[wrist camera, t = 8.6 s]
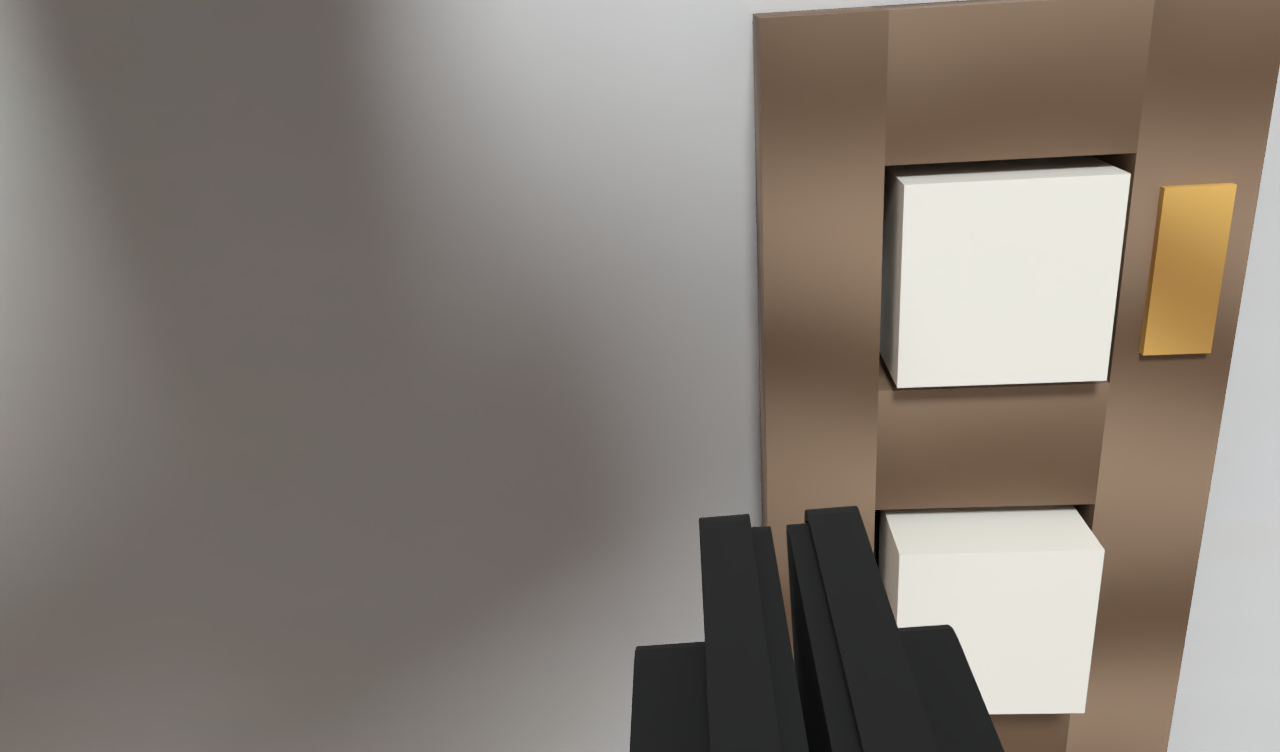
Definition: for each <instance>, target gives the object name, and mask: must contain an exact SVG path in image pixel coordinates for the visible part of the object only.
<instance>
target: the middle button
mask: <svg viewBox="0 0 1280 752" xmlns="http://www.w3.org/2000/svg"><path fill="white" fill-rule="evenodd" d="M1104 553H1105V550H1104V548H1103V547H1102V545H1101V544H1100V543H1099V541H1098V540H1097V538H1096V537H1095V535H1094V534H1093V533H1092V531H1091V530H1090V528H1089V527H1088V526H1087V524H1086V523H1085V521H1084V520H1083V519H1082V517H1081V516H1080V514H1079V513H1078V512H1077V510H1076V509H1075V507H1074V506H1073V505H1039V506H1001V507H964V508H927V509H889V510H880V534H879V567H878V569H879V572H880V575H881V578H882V581H883V584H884V587H885V590H886V593H887V596H888V599H889V602H890V606H891V609H892V612H893V615H894V618H895V621H896V624H897V627H898V628H905V627H919V626H933V625H947V624H948V625H950V626H951V627H952V628H953V629H954V631H955V633H956V635H957V637H958V639H959V642H960V644H961V647H962V649H963V651H964V654H965V656H966V659H967V661H968V664H969V666H970V669H971V671H972V673H973V676H974V678H975V681H976V683H977V686H978V688H979V691H980V693H981V695H982V698H983V700H984V703H985V705H986V708H987V710H988V713H989V714H1059V713H1085V705H1086V697H1087V689H1088V681H1089V673H1090V665H1091V657H1092V649H1093V641H1094V633H1095V625H1096V617H1097V609H1098V601H1099V593H1100V585H1101V577H1102V569H1103V561H1104Z"/></svg>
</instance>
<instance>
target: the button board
mask: <svg viewBox="0 0 1280 752" xmlns="http://www.w3.org/2000/svg"><path fill="white" fill-rule="evenodd" d="M753 44H754V99H755V153H756V207H757V262H758V316H759V370H760V425H761V479H762V527H763V526H771V530H772V536H773V542H774V548H775V554H776V560H777V566H778V572H779V578H780V583H781V589H782V595H783V601H784V607H785V613H786V619H787V625H788V631H789V636H790V642H791V648H792V654H793V660H794V652H793V635H792V619H791V602H790V586H789V569H788V553H787V535H786V526H787V525H789V524H802V523H805V521H804V517H805V510H806V509H819V508H832V507H844V506H857V507H858V509H859V511H860V514H861V517H862V520H863V523H864V526H865V529H866V532H867V535H868V538H869V542H870V545H871V548H872V551H873V554H874V529H875V510H889V509H927V508H964V507H1001V506H1039V505H1073V506H1074V507H1075V509H1076V510H1077V512H1078V513H1079V514H1080V516H1081V517H1082V519H1083V520H1084V521H1085V523H1086V524H1087V526H1088V527H1089V528H1090V530H1091V531H1092V533H1093V534H1094V535H1095V537H1096V538H1097V540H1098V541H1099V543H1100V544H1101V545H1102V547H1103V548H1104V550H1105V553H1104V561H1103V569H1102V577H1101V585H1100V593H1099V601H1098V609H1097V617H1096V625H1095V633H1094V641H1093V649H1092V657H1091V665H1090V673H1089V681H1088V689H1087V697H1086V705H1085V713H1059V714H989V715H990V717H991V720H992V722H993V725H994V727H995V730H996V732H997V735H998V737H999V739H1000V742H1001V744H1002V747H1003V749H1004V752H1167V747H1168V741H1169V734H1170V728H1171V722H1172V716H1173V710H1174V704H1175V698H1176V692H1177V686H1178V680H1179V674H1180V668H1181V662H1182V655H1183V649H1184V643H1185V637H1186V631H1187V625H1188V619H1189V613H1190V607H1191V601H1192V595H1193V589H1194V582H1195V576H1196V570H1197V564H1198V558H1199V552H1200V546H1201V540H1202V534H1203V528H1204V522H1205V516H1206V510H1207V503H1208V497H1209V491H1210V485H1211V479H1212V473H1213V467H1214V461H1215V455H1216V449H1217V443H1218V437H1219V430H1220V424H1221V418H1222V412H1223V406H1224V400H1225V394H1226V388H1227V382H1228V376H1229V370H1230V364H1231V357H1232V351H1233V345H1234V339H1235V333H1236V327H1237V321H1238V315H1239V309H1240V303H1241V297H1242V291H1243V285H1244V278H1245V272H1246V266H1247V260H1248V254H1249V248H1250V242H1251V236H1252V230H1253V224H1254V218H1255V212H1256V205H1257V199H1258V193H1259V187H1260V181H1261V175H1262V169H1263V163H1264V157H1265V151H1266V145H1267V139H1268V132H1269V126H1270V120H1271V114H1272V108H1273V102H1274V96H1275V90H1276V84H1277V78H1278V72H1279V66H1280V0H967V1H951V2H935V3H919V4H903V5H887V6H871V7H855V8H839V9H823V10H807V11H790V12H774V13H758V14H753ZM1086 155H1091V156H1093V157H1095V158H1097V159H1100V160H1102V161H1104V162H1106V163H1108V164H1111V165H1113V166H1115V167H1117V168H1119V169H1122V170H1124V171H1126V172H1128V173H1130V174H1131V177H1130V186H1129V194H1128V203H1127V211H1126V220H1125V228H1124V237H1123V246H1122V254H1121V263H1120V271H1119V280H1118V288H1117V297H1116V305H1115V314H1114V322H1113V331H1112V339H1111V348H1110V356H1109V365H1108V374H1107V381H1083V382H1054V383H1026V384H998V385H969V386H941V387H912V388H897V387H896V385H895V383H894V381H893V378H892V376H891V374H890V372H889V370H888V368H887V366H886V364H885V362H884V360H883V358H882V356H881V354H880V352H879V351H880V316H881V280H882V244H883V209H884V173H885V166H890V165H910V164H929V163H949V162H969V161H988V160H1008V159H1028V158H1047V157H1067V156H1086Z"/></svg>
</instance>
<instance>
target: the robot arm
mask: <svg viewBox="0 0 1280 752" xmlns="http://www.w3.org/2000/svg"><path fill="white" fill-rule="evenodd" d="M804 521H805V523H802V524H789V525H787V526H786V535H787V553H788V569H789V586H790V602H791V619H792V635H793V652H794V660H793V654H792V648H791V642H790V636H789V631H788V625H787V619H786V613H785V607H784V601H783V595H782V589H781V583H780V578H779V572H778V566H777V560H776V554H775V548H774V542H773V536H772V530H771V526H763V527H751V523H750V516H749V514H743V515H731V516H718V517H706V518H699V530H700V550H701V570H702V591H703V611H704V631H705V642H693V643H679V644H665V645H651V646H637V647H636V650H635V659H634V677H633V697H632V717H631V737H630V752H1004V749H1003V747H1002V744H1001V742H1000V739H999V737H998V735H997V732H996V730H995V727H994V725H993V722H992V720H991V717H990V715H989V713H988V710H987V708H986V705H985V703H984V700H983V698H982V695H981V693H980V691H979V688H978V686H977V683H976V681H975V678H974V676H973V673H972V671H971V669H970V666H969V664H968V661H967V659H966V656H965V654H964V651H963V649H962V647H961V644H960V642H959V639H958V637H957V635H956V633H955V631H954V629H953V628H952V627H951V626H950V625H948V624H947V625H933V626H919V627H905V628H898V627H897V624H896V621H895V618H894V615H893V612H892V609H891V606H890V602H889V599H888V596H887V593H886V590H885V587H884V584H883V581H882V578H881V575H880V572H879V569H878V566H877V563H876V560H875V557H874V554H873V551H872V548H871V545H870V542H869V538H868V535H867V532H866V529H865V526H864V523H863V520H862V517H861V514H860V511H859V509H858V507H857V506H844V507H832V508H819V509H806V510H805V517H804Z"/></svg>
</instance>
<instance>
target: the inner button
mask: <svg viewBox="0 0 1280 752" xmlns="http://www.w3.org/2000/svg"><path fill="white" fill-rule="evenodd" d="M1130 177H1131V174H1130V173H1128V172H1126V171H1124V170H1122V169H1119V168H1117V167H1115V166H1113V165H1111V164H1108V163H1106V162H1104V161H1102V160H1100V159H1097V158H1095V157H1093V156H1091V155H1086V156H1067V157H1047V158H1028V159H1008V160H988V161H969V162H949V163H929V164H910V165H890V166H885V173H884V209H883V244H882V280H881V316H880V351H879V352H880V354H881V356H882V358H883V360H884V362H885V364H886V366H887V368H888V370H889V372H890V374H891V376H892V378H893V381H894V383H895V385H896V387H897V388H912V387H941V386H969V385H998V384H1026V383H1054V382H1083V381H1107V374H1108V365H1109V356H1110V348H1111V339H1112V331H1113V322H1114V314H1115V305H1116V297H1117V288H1118V280H1119V271H1120V263H1121V254H1122V246H1123V237H1124V228H1125V220H1126V211H1127V203H1128V194H1129V186H1130Z"/></svg>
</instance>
